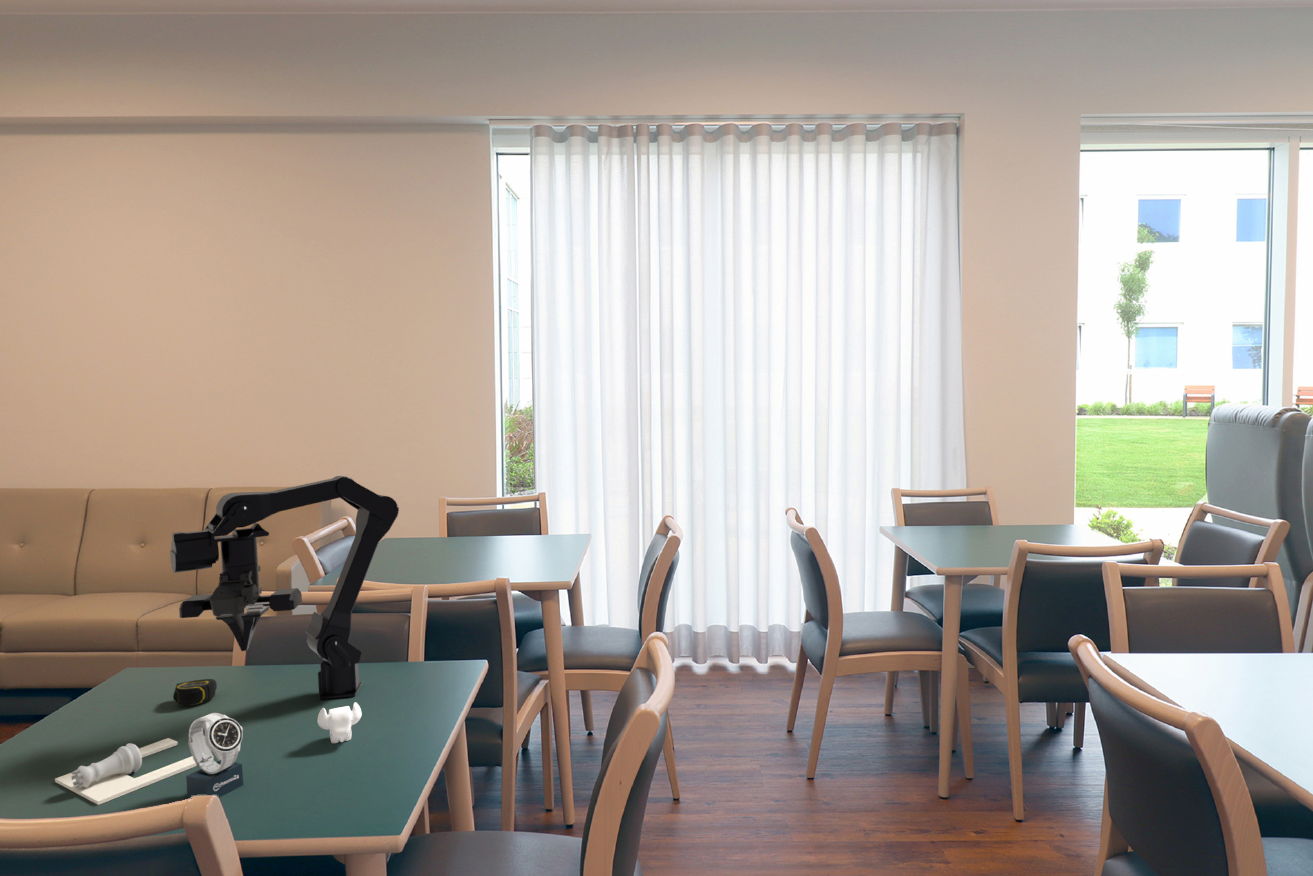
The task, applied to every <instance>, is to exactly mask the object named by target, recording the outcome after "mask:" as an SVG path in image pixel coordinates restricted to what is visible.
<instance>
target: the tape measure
mask: <svg viewBox="0 0 1313 876" xmlns="http://www.w3.org/2000/svg"><path fill="white" fill-rule="evenodd" d="M217 687H218V685H217V681H216V680H215V679H212V678H205V679H204V678H203V679H202V678H201V679H195V680H194V679H193V680H191V681H184V682H179V683H176V686H175V688H174V691H173V696H172V699H173V701H175V703H176V704H177V705H178V706H194V705H195V706H196V705H201V704H202V703H205V702H207V701H210V700H212V699H214V698H215V695H216V690H217Z"/></svg>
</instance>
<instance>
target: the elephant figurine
mask: <svg viewBox="0 0 1313 876" xmlns="http://www.w3.org/2000/svg"><path fill="white" fill-rule="evenodd" d="M352 704H353V705H352V709H351V707H350V706H349V705H346V706H345V705H344V706H342V707H341V706H340V707H334V708H330V709H329V710H328V713H327V710H326V708H325V707H322V708H321V709H320V711H319V713H318V714H317V725H318V726H319V727H320V728H321V729H322V730H325V731H326V730H329V739H330V742H331V744H337V743H339V742H340V743H343V742H348V741H350V740H352V733H353V732H352V726H353V725H356V724H357V723H358V722H359V721H360V720H361V717H362V714H363V713H362V709H361V706H360V705H359V703H358V702H354V703H352Z"/></svg>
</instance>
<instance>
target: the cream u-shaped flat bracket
mask: <svg viewBox="0 0 1313 876" xmlns="http://www.w3.org/2000/svg"><path fill="white" fill-rule="evenodd" d="M178 743H179V742H178V741H176V740H174V739H171V738H169V737H167V738H164V739H161V740H159V741H155V742H154V743H150V744H148V745H144V746H142V747H138V748H139V750H140V753H141V756H142V759H143V758H146V757H148V756H151V755H153V754H156V753H159V752H161V751H164V750H167V749H169V748H172V747H175V746H178ZM214 757H215V755H213V757H212V759H213V760H214V759H215V758H214ZM195 767H198V766H197V765H196V763H195V761H194V760H193V756H192V755H191V756H189V757H186V758H184V759H181V760H179V761H176V762H173V763H171V764H169V765H166V766H163V767H161V768H159V769H158V768H157V769H156V770H155V769H154V770H153V771H150V772H148V773H145V774H142V775H139V776H137V777H132V776H130V775H129V774H127V775H126V774H120V775H119V774H115V775H111V776H107V777H104V778H101V779H100V780H99V781H97V782H95V781H93V782H91V783H90V785H89V786H88V787H87V788H83V787H80V788H76V786H77V785H78V784H77V785H75V786H74V785H73V782H75V781H76V779H73V780H72V777H71V776H74V775H75V774H74V775H72V772H69V773H67V774H65V775H64V774H63V775H62V776H59V777H56V778H54V783H56V784H58V785H59V786H62V787H64V788H66V789H68V790H70V791H71V792H73V793H75V794H77V795H79V796H81V797H83V798H85V799H86V800H88V801H90V802H91V803H94V804H95V805H97V806H100V805H102V804H104V803H106V802H109V801H112V800H114V799H117V798H119V797H121V796H124V795H127V794H130V793H132V792H134V791H136V790H139V789H142V788H144V787H146V786H149V785H153V784H154V783H156V782H160V781H162V780H164V779H166V778H170V777H172V776H174V775H177V774H179V773H182V772H185V771H187V770H189V769H192V768H195Z"/></svg>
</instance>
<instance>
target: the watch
mask: <svg viewBox="0 0 1313 876" xmlns="http://www.w3.org/2000/svg"><path fill="white" fill-rule="evenodd" d="M243 731H244V728H243V726H241V725H240V723H239V722H238V721H237V720H235V719H234V718H231V717H229V716H227V714H222V713H220V712H219V713H218V712H211V713H209V714H207V715H204V716H201V717H199V718H196V719H195V720H193V722H192V723H191V724H190V726H189V730H188V741H187V742H188V747H189V751H190V753H191V756H193V760H194V761H195V763H196V765H197V766H196V767H199V769H198V770H196V771H194V772H192V773H189V774H187V775H186V776H185V777H186V792H187V793H186V794H187V798H188V797H191V795H197V794H207V795H212V794H217V795H219V798H220V797H222V796H224V795H226V794H228V793H230V792H232V791H234V790H237V789H238V788H240V787H242V786H244V773H243V764H242V763H239V762H236V760H237V757H238V755H239V752H240V751H241V743H242V740H243V738H244V737H243ZM213 754H214V755H213ZM213 756H214V757H215V758H216V759H217V761H215V760H214V759H212V757H213Z"/></svg>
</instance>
